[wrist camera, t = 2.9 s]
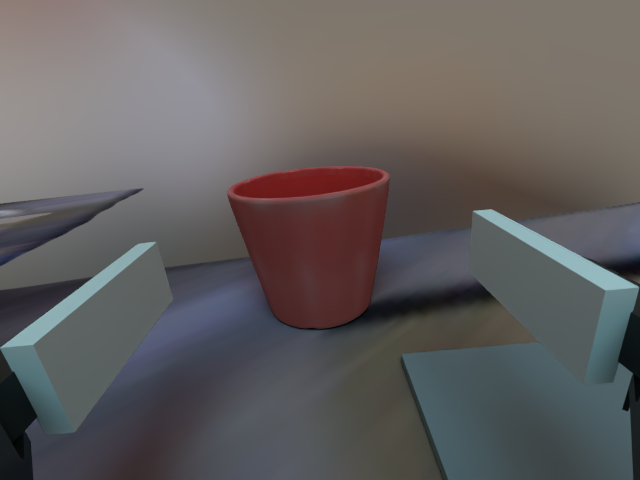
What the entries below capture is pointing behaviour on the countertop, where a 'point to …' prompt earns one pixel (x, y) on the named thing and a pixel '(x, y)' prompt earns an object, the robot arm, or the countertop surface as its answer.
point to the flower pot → (314, 239)
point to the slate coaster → (519, 415)
